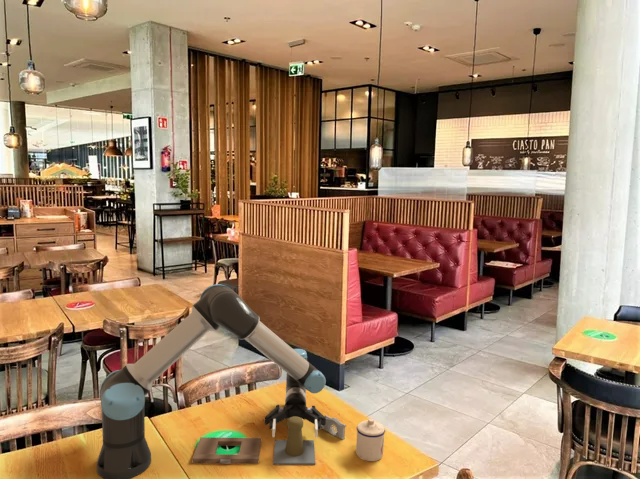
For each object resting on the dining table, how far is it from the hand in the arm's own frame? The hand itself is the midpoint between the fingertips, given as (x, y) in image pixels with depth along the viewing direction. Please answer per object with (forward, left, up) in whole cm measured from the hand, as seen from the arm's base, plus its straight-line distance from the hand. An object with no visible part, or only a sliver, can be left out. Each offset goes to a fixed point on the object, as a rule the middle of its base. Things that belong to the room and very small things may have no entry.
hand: (295, 433), depth 151 cm
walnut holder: (-21, +1, -7) cm, 22 cm away
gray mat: (0, +1, -7) cm, 7 cm away
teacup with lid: (+24, +2, -8) cm, 25 cm away
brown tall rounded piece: (0, +1, -7) cm, 7 cm away
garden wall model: (+13, +14, -8) cm, 20 cm away
